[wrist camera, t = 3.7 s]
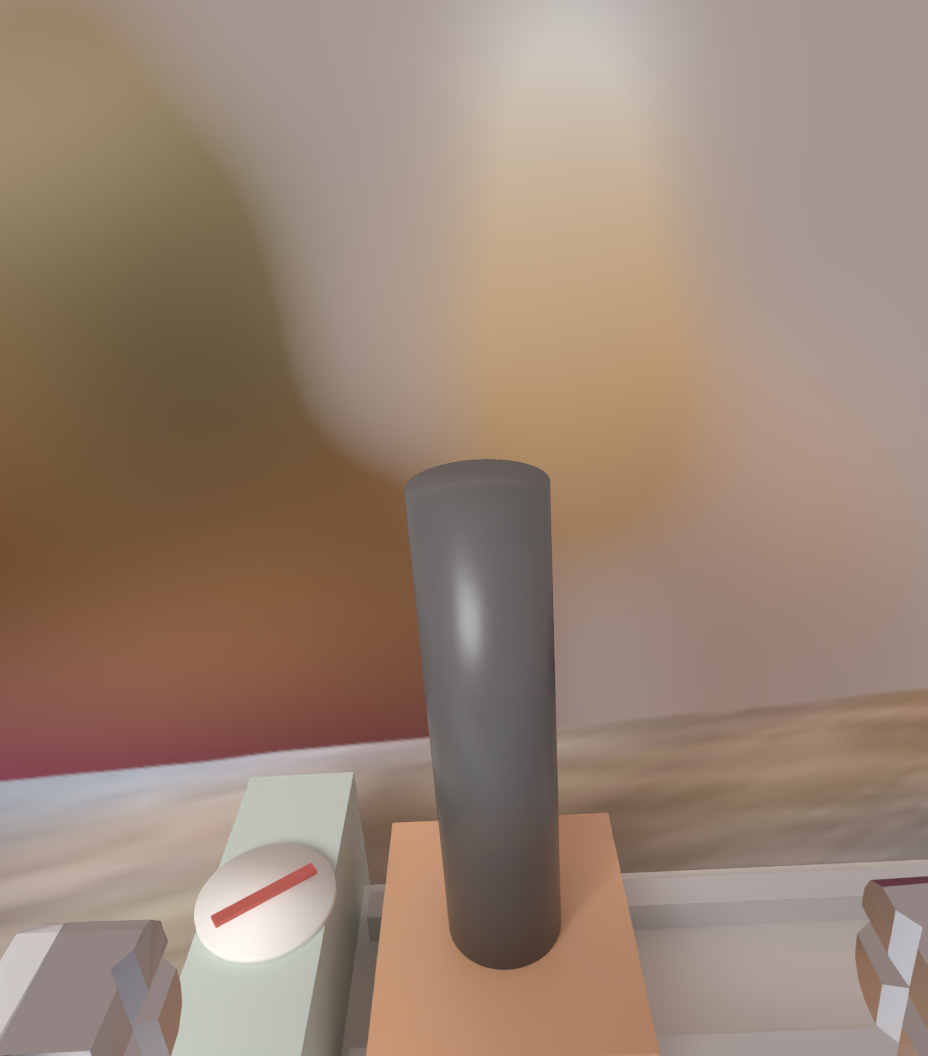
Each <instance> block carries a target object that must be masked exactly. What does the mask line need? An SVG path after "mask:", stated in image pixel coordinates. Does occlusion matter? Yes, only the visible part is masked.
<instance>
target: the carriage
mask: <svg viewBox="0 0 928 1056" xmlns="http://www.w3.org/2000/svg"><path fill="white" fill-rule="evenodd" d="M404 492H405V502H406V512H407V520H408V521H407V522H408V530H409V541H410V551H411V561H412V570H413V580H414V590H415V600H416V609H417V619H418V629H419V638H420V648H421V658H422V668H423V678H424V687H425V696H426V706H427V717H428V726H429V736H430V746H431V756H432V765H433V775H434V785H435V795H436V804H437V814H438V821H421V822H400V823H392V832H391V840H390V849H389V858H388V867H387V876H386V884H385V893H384V902H383V911H382V920H381V929H380V937H379V946H378V955H377V964H376V973H375V981H374V990H373V999H372V1008H371V1017H370V1025H369V1034H368V1043H367V1052H366V1056H660V1052H659V1048H658V1043H657V1038H656V1034H655V1029H654V1024H653V1020H652V1015H651V1010H650V1006H649V1001H648V996H647V992H646V987H645V982H644V978H643V973H642V968H641V964H640V959H639V954H638V950H637V945H636V940H635V936H634V931H633V927H632V922H631V917H630V913H629V908H628V903H627V899H626V894H625V889H624V885H623V880H622V875H621V871H620V866H619V861H618V857H617V852H616V847H615V843H614V838H613V833H612V829H611V824H610V819H609V815H608V813H588V814H567V815H558V778H557V738H556V704H555V703H556V699H555V659H554V620H553V584H552V583H553V581H552V543H551V542H552V541H551V505H550V504H551V503H550V479H549V477H548V475H547V474H546V473H545V472H544V471H542V470H541V469H539V468H537V467H534V466H532V465H529V464H525V463H521V462H516V461H508V460H494V459H483V460H468V461H459V462H453V463H448V464H444V465H440V466H437V467H433V468H430V469H428V470H425V471H423V472H421V473H419V474H417V475H416V476H414V477H413V478H411V479H410V480H409V481H408V482H407V484H406V486H405V488H404Z"/></svg>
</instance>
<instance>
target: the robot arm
mask: <svg viewBox="0 0 928 1056" xmlns="http://www.w3.org/2000/svg"><path fill="white" fill-rule="evenodd" d="M861 905H862V907H863V909H864V911H865V913H866V914H867V916H868V918H869V920H870V922H869V923H868V924H866V925H865V926H864V927H863V928H862V929H861V930H860V931H859V932H858V933H857V939H856V949H855V960H856V967H857V974H858V981H859V984H860V987H861V990H862V993H863V996H864V999H865V1002H866V1005H867V1007H868V1009H869V1011H870V1013H871V1016H872V1018H873V1020H874V1022H875V1024H876V1025H877V1026H878V1027H879V1028H880V1029H882V1030H883V1031H884V1032H885V1033H887V1034H888V1035H889V1036H890V1037H892V1038H893V1039H894V1040H895V1041H897V1042H898V1043H899V1045H898V1051H897V1056H928V876H923V877H908V878H893V879H878V880H870V881H869V882H868V884H867V885H866V887H865V888H864V893H863V899H862V904H861ZM167 942H168V940H167V938H166V935H165V932H164V930H163V927H162V924H161V921H156V920H128V921H89V922H69V923H40V924H28V925H27V926H26V927H25V928H23V929H22V930H21V931H20V932H19V933H17V934H16V935H15V937H14V938H13V940H12V941H11V943H10V945H9V947H8V948H7V950H6V952H5V953H4V955H3V957H2V958H1V960H0V1056H171V1054H172V1051H173V1048H174V1045H175V1041H176V1038H177V1035H178V1032H179V1024H180V1017H181V1009H182V993H181V983H180V979H179V976H178V973H177V969H176V968H175V967H174V966H172V965H171V964H170V963H169V962H167V961H166V960H165V959H163V958H162V955H163V953H164V950H165V947H166V945H167Z"/></svg>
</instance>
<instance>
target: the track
mask: <svg viewBox="0 0 928 1056" xmlns="http://www.w3.org/2000/svg"><path fill="white" fill-rule="evenodd" d="M621 875H622V880H623V885H624V889H625V894H626V899H627V903H628V908H629V913H630V917H631V922H632V927H633V931H634V936H635V940H636V945H637V950H638V954H639V959H640V964H641V968H642V973H643V978H644V982H645V987H646V992H647V996H648V1001H649V1006H650V1010H651V1015H652V1020H653V1024H654V1029H655V1034H656V1038H657V1043H658V1048H659V1052H660V1056H897V1051H898V1045H899V1043H898V1042H897V1041H895V1040H894V1039H893V1038H892V1037H890V1036H889V1035H888V1034H887V1033H885V1032H884V1031H883V1030H882V1029H880V1028H879V1027H878V1026H877V1025H876V1024H875V1022H874V1020H873V1018H872V1016H871V1013H870V1011H869V1009H868V1007H867V1005H866V1002H865V999H864V996H863V993H862V990H861V987H860V984H859V981H858V974H857V967H856V960H855V949H856V939H857V933H858V932H859V931H860V930H861V929H862V928H863V927H864V926H865V925H866V924H868V923H869V922H870V920H869V918H868V916H867V914H866V913H865V911H864V909H863V907H862V905H861V904H862V899H863V893H864V888H865V887H866V885H867V884H868V882H869V881H870V880H878V879H893V878H908V877H923V876H928V859H926V860H904V861H882V862H860V863H838V864H816V865H794V866H772V867H750V868H728V869H706V870H684V871H662V872H640V873H621ZM384 893H385V884H377V885H371V883H370V876H369V870H368V863H367V857H366V850H365V843H364V837H363V830H362V824H361V817H360V810H359V804H358V797H357V791H356V784H355V778H354V772H345V773H324V774H304V775H284V776H264V777H250V780H249V783H248V785H247V788H246V791H245V794H244V797H243V800H242V803H241V805H240V808H239V811H238V814H237V817H236V820H235V822H234V825H233V828H232V831H231V834H230V837H229V840H228V842H227V845H226V848H225V851H224V854H223V857H222V859H221V862H220V865H219V868H218V870H217V871H216V872H215V873H214V874H213V875H212V876H211V877H210V878H209V880H208V881H207V882H206V884H205V885H204V887H203V888H202V890H201V892H200V894H199V896H198V898H197V901H196V905H195V911H194V922H195V926H196V930H197V931H196V933H195V936H194V939H193V942H192V945H191V948H190V950H189V953H188V956H187V959H186V962H185V965H184V968H183V970H182V973H181V976H180V983H181V993H182V1009H181V1017H180V1024H179V1032H178V1035H177V1038H176V1041H175V1045H174V1048H173V1051H172V1054H171V1056H366V1052H367V1043H368V1034H369V1025H370V1017H371V1008H372V999H373V990H374V981H375V973H376V964H377V955H378V946H379V937H380V929H381V920H382V911H383V902H384Z"/></svg>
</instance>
